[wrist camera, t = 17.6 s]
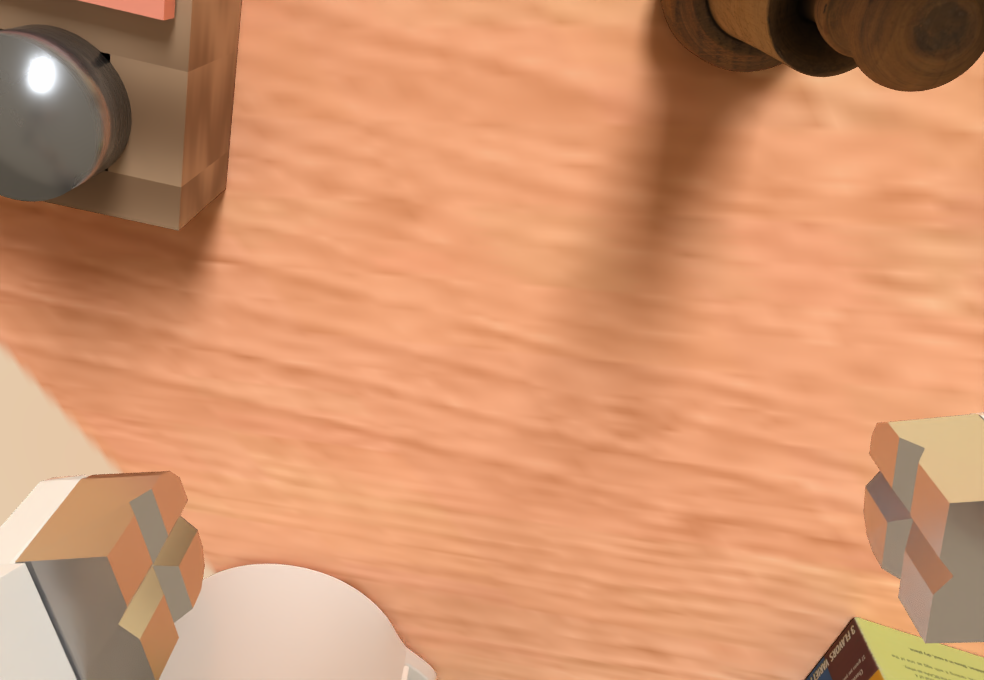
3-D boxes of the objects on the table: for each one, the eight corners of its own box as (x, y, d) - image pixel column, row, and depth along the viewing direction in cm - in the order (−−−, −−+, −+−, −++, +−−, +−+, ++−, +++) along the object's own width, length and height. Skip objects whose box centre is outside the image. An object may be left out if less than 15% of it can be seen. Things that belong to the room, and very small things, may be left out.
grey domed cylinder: (134, 174, 37) (42, 232, 30) (22, 84, 36) (-102, 123, 28) (206, 80, 35) (126, 118, 28) (92, -19, 34) (-23, -5, 26)
